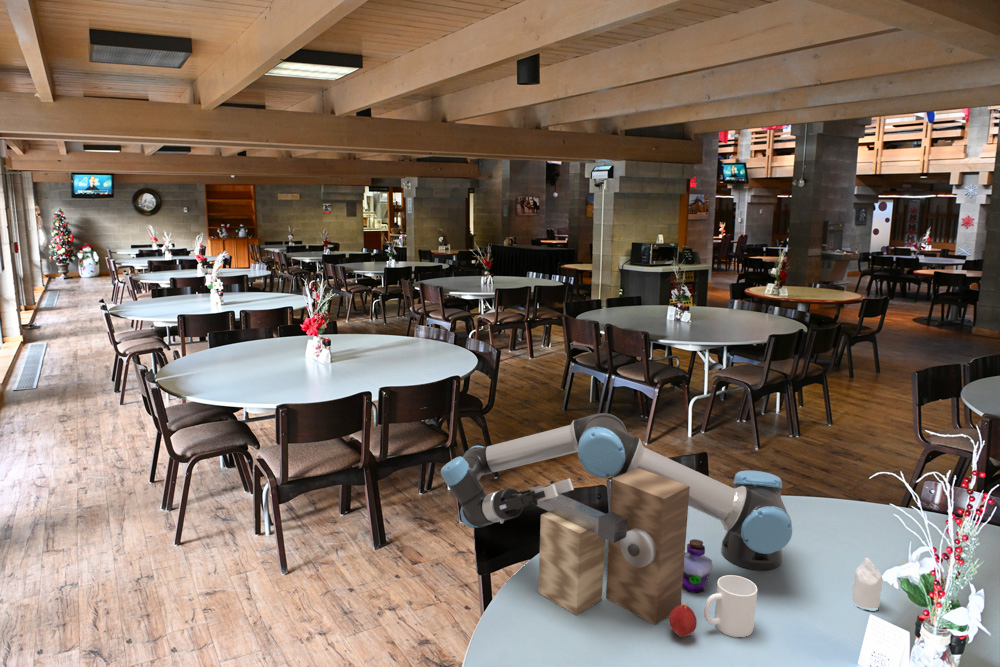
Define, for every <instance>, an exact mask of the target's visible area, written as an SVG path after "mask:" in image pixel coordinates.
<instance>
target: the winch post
mask: <svg viewBox="0 0 1000 667" xmlns="http://www.w3.org/2000/svg"><path fill="white" fill-rule="evenodd" d="M610 488H611V489H610V506H609V507H610V508H609V509H610V510H609V512H611V511H612V512H614V513H616V514H619V515H621V516H623V517H626V518H627V534H626V537H625V538H623V539H621V540H619V541H617V542H615V543H612V542H610V541H608V547H607V548H608V549H607V566H606V568H607V570H606V587H605V588H606V590H605V598H606V599H607V600H609V601H610V600H611V602H612V601H613V602H612V603H614V604H616V603H617V604H616V605H618V604H619V605H618V606H620V607H621V606H622V608H623V607H624V609H626V610H627V611H629V612H631V613H632V614H635V615H636V616H638V617H639V618H642V619H644V620H645V621H647V622H649V623H651V624H653V625H654V626H656V625H658V624H660V623H661V622H662V621H663V620H665V619H666V618H669V615H670V612H671V611H672V610H673V609H674V608H675V607H676V606H678V605H681V604H682V594H683V588H682V584H683V570H684V557H685V553H686V539H687V527H688V515H689V506H688V503H689V490H690V486H687V485H685V484H682V483H679V482H676V481H673V480H671V479H668V478H665V477H662V476H659V475H657V474H654V473H651V472H648V471H645V470H643V469H640V468H637V469H634V470H632V471H629V472H627V473H625V474H622V475H620V476H617V477H615V478H613V477H612V478H611V487H610Z"/></svg>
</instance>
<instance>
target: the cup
mask: <svg viewBox="0 0 1000 667" xmlns="http://www.w3.org/2000/svg"><path fill="white" fill-rule="evenodd" d="M716 583H717V584H716V593H713V594H710V595H709V596H708V598H706V601H705V605H704V610H703V613H704V619H705V621H706V622H707V623H708V624H710V625H715V627H716V628H717V629H718V630H719V631H720V632H721V633H722V634H724V635H726V636H729V637H732V638H737V637H743V638H747V637H749V636H750V635H751V634H753V631H754V629H755V628H754V627H755V618H756V610H757V609H756V608H757V599H758V598H757V597H758V587H757V585H756V583H755V582H753V581H752V580H751V579H748V578H746V577H743V576H740V575H734V574H733V575H732V574H730V575H729V574H727V575H722V576H721V577H719V578H718V579H717V582H716ZM714 601H715V606H714V607H715V608H714V618H712V617H711V616H710V609H711V605H712V603H713V602H714ZM746 636H747V637H746Z"/></svg>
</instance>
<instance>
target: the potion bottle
mask: <svg viewBox="0 0 1000 667" xmlns="http://www.w3.org/2000/svg"><path fill="white" fill-rule="evenodd" d="M705 554H706V548H705V545H704V542H703V541H702V540H701V539H691V540H689V543H687V544H686V551H685V557H684V570H683V584H682V590H683V589H684V590H685V591H686V592H688V593H694V594H695V593H696V594H699V593H703V592H704V591H705V587H706V584H707V581H708V578H710V575H711V572H712V570H713V561H712V558H709V557H708V556H706V555H705Z"/></svg>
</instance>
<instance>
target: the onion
mask: <svg viewBox="0 0 1000 667" xmlns="http://www.w3.org/2000/svg"><path fill="white" fill-rule="evenodd" d="M668 624H669V626H670V628H671V630H672V631H673V632H674V633H675V634H677V635H678V637H680V638H685V637H687V636H689V635H691V634H693V632H694V631H695V630H696V628H697V617H696V614H695V612H694V611H693V610H692V608H690V607H689V605H687V603H685V602H682V603H681V605H678V606H676V607H675V608H674V609H673V610H672V611H671V612H670V615H669V616H668Z"/></svg>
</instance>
